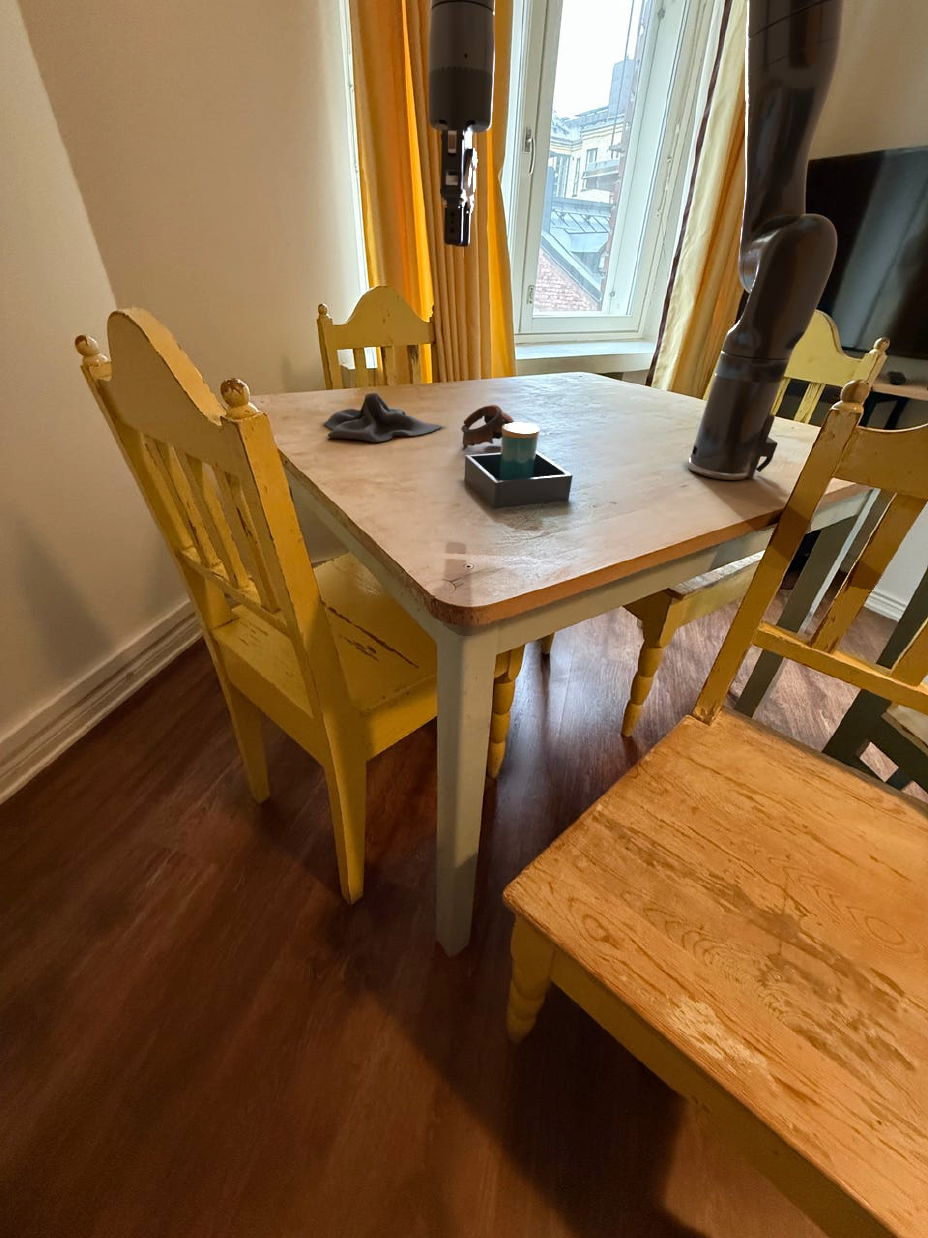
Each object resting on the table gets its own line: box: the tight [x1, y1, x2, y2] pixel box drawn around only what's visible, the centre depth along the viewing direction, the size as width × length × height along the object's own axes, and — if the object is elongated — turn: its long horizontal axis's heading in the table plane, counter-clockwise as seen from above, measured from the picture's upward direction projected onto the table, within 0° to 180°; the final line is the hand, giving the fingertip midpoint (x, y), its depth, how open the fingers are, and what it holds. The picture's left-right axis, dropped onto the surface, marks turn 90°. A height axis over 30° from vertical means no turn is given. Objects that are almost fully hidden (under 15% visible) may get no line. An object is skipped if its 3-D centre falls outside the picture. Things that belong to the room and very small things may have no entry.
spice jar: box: [498, 422, 540, 481], centre depth 71 cm, size 5×5×8 cm
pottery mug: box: [460, 404, 516, 448], centre depth 89 cm, size 12×10×8 cm
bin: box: [464, 450, 573, 510], centre depth 73 cm, size 11×11×4 cm
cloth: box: [323, 392, 443, 443], centre depth 97 cm, size 22×19×6 cm
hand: (457, 245), depth 69 cm, fingers open, 8 cm apart
